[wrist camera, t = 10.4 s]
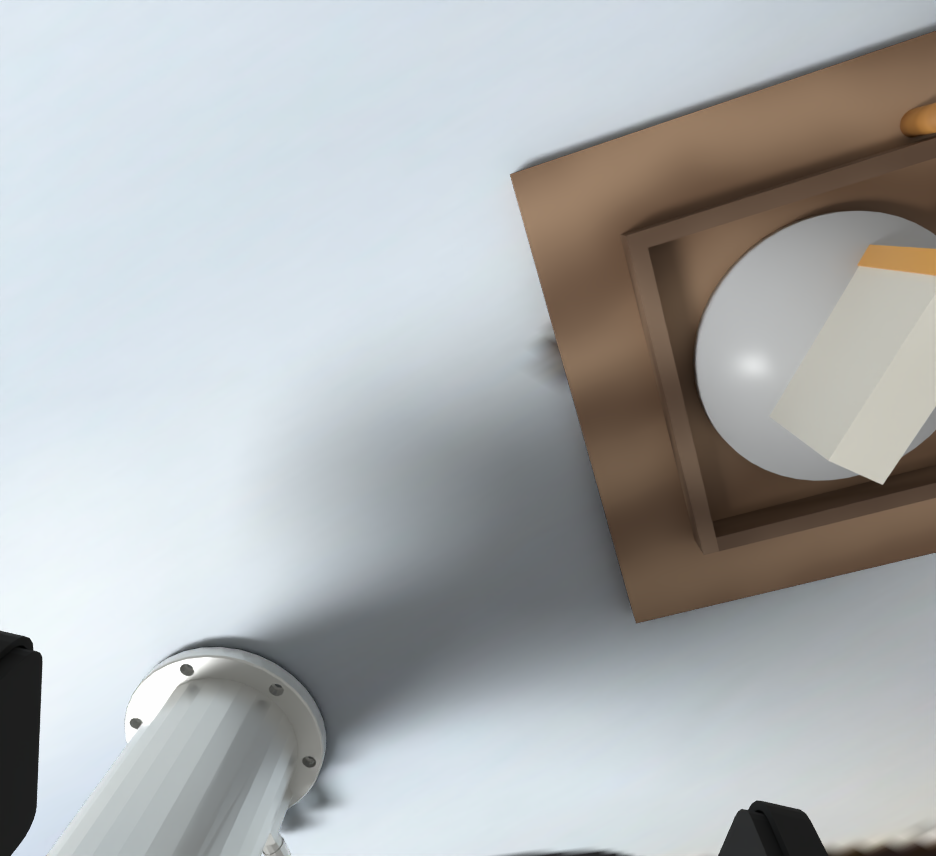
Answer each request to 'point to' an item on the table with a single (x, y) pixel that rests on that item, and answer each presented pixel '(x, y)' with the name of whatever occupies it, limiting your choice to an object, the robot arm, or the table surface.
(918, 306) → the dial
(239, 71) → the table surface
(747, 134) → the dial board
